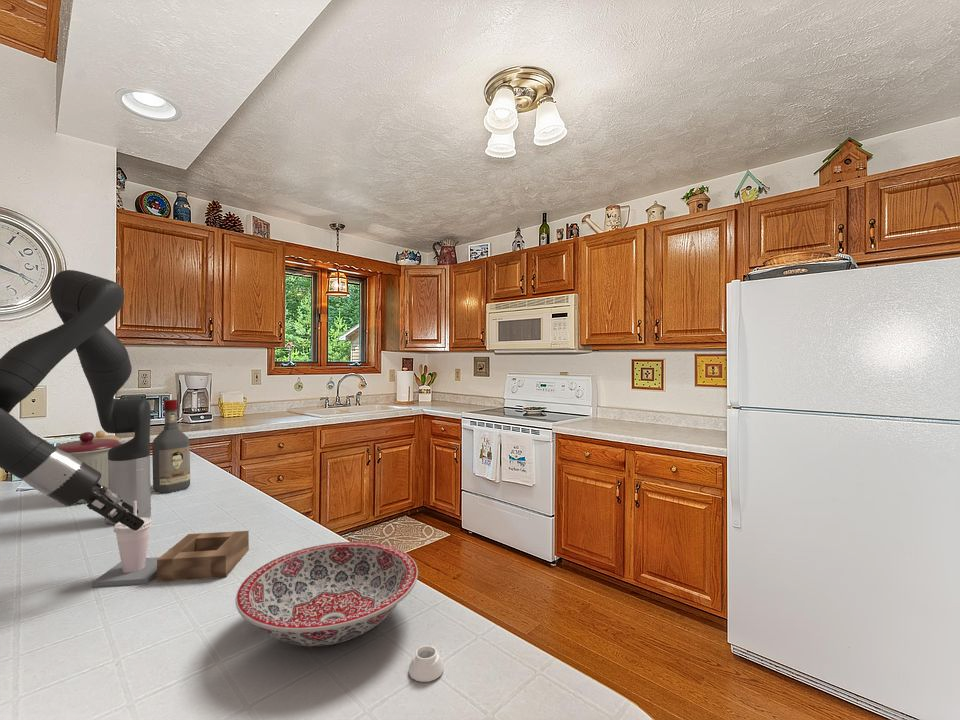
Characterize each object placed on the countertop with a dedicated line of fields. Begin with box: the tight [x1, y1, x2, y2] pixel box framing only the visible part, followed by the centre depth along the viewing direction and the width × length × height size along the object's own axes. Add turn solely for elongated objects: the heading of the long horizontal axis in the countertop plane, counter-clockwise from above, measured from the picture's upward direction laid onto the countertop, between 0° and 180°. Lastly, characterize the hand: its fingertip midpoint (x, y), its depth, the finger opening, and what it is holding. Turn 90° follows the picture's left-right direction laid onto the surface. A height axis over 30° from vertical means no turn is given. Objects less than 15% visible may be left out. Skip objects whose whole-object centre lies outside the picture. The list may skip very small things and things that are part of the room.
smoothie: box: [113, 501, 153, 573], centre depth 96 cm, size 6×6×14 cm
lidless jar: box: [408, 645, 444, 683], centre depth 67 cm, size 5×3×5 cm
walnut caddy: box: [156, 530, 250, 582], centre depth 100 cm, size 13×13×4 cm
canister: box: [54, 431, 124, 505], centre depth 144 cm, size 18×18×21 cm
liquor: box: [151, 399, 191, 494], centre depth 154 cm, size 9×9×30 cm
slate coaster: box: [91, 556, 161, 588], centre depth 96 cm, size 10×10×1 cm
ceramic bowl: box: [235, 541, 419, 647], centre depth 78 cm, size 29×29×8 cm
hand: (137, 520), depth 96 cm, fingers open, 8 cm apart
